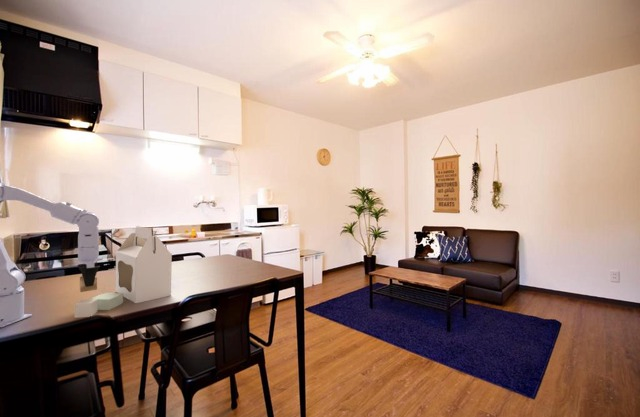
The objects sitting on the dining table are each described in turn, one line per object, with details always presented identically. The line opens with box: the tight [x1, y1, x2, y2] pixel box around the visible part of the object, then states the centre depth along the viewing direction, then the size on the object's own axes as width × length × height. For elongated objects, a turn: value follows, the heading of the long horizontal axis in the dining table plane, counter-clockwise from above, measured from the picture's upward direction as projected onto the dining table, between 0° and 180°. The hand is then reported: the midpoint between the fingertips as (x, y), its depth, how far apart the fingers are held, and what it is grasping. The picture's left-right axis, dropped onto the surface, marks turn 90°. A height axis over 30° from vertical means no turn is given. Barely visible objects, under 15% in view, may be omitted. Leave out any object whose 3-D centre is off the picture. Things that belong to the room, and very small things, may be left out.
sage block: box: [90, 292, 124, 311], centre depth 104 cm, size 7×7×4 cm
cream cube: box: [74, 298, 98, 319], centre depth 96 cm, size 4×4×4 cm
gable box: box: [115, 225, 173, 304], centre depth 119 cm, size 22×13×28 cm, turn 52°
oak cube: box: [79, 275, 98, 293], centre depth 101 cm, size 4×4×4 cm
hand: (88, 284), depth 101 cm, fingers closed on oak cube, 4 cm apart
